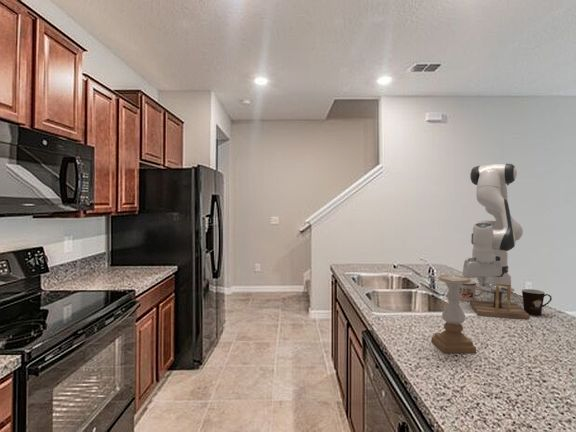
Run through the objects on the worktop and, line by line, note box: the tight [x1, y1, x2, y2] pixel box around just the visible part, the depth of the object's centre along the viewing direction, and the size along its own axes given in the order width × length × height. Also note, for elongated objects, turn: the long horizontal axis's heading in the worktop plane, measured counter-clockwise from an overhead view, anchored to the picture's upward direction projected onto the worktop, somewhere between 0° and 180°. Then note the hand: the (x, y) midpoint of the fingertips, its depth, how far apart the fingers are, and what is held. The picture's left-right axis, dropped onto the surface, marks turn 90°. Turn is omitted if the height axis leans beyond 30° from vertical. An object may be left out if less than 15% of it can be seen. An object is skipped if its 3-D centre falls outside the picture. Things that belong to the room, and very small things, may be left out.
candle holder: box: [431, 274, 477, 354], centre depth 134 cm, size 11×11×24 cm
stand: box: [469, 284, 530, 320], centre depth 178 cm, size 20×20×14 cm
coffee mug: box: [521, 288, 552, 316], centre depth 174 cm, size 12×9×10 cm
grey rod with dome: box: [485, 283, 513, 294], centre depth 180 cm, size 20×6×3 cm, turn 9°
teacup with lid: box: [460, 279, 483, 302], centre depth 199 cm, size 12×9×12 cm
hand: (481, 286), depth 187 cm, fingers closed
